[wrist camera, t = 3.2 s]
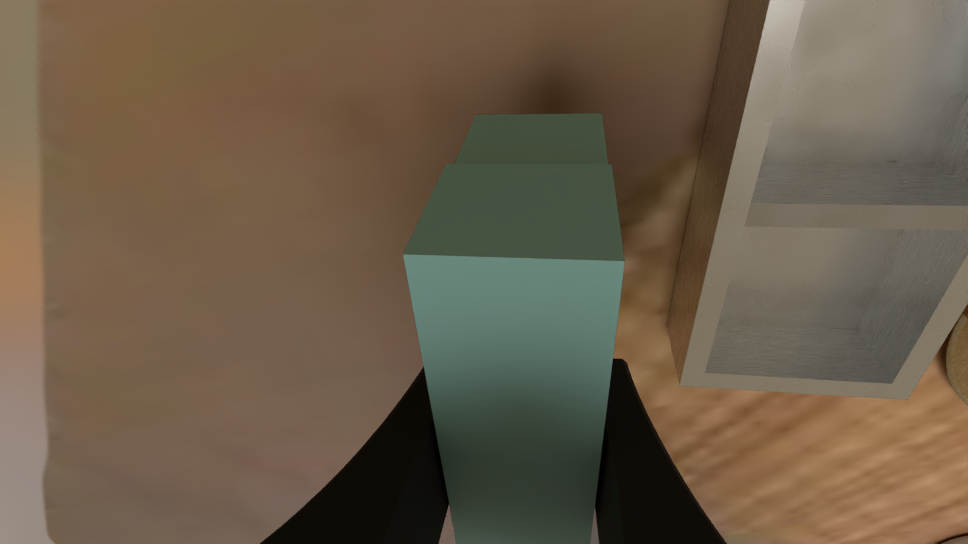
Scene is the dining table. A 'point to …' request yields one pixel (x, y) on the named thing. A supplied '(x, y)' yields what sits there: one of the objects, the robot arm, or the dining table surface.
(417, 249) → the clip
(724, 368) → the cabinet frame
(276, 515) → the dining table surface
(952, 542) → the supplement bottle
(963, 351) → the toy sandwich meal
